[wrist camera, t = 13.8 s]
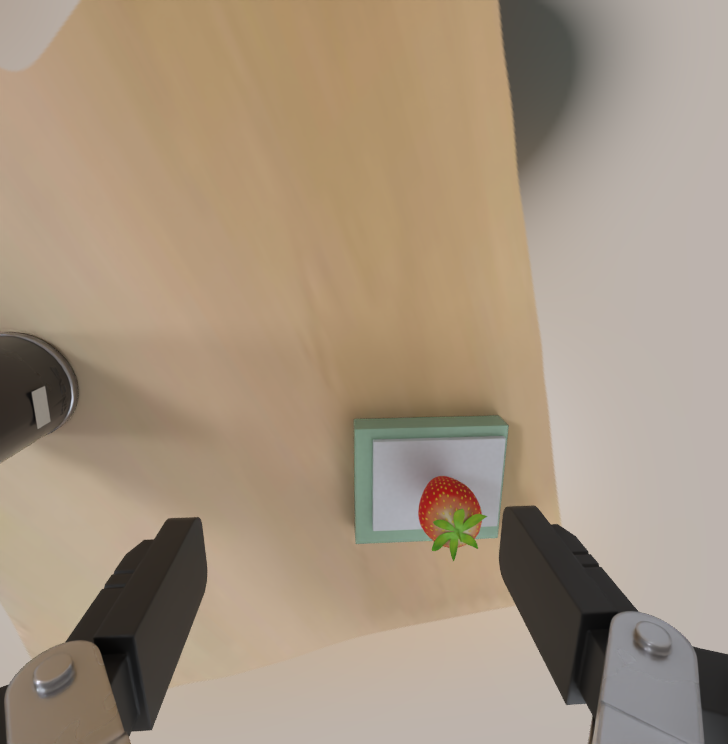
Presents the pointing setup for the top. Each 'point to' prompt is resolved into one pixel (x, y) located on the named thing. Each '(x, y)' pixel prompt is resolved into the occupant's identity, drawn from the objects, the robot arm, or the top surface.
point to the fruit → (450, 514)
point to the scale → (423, 471)
